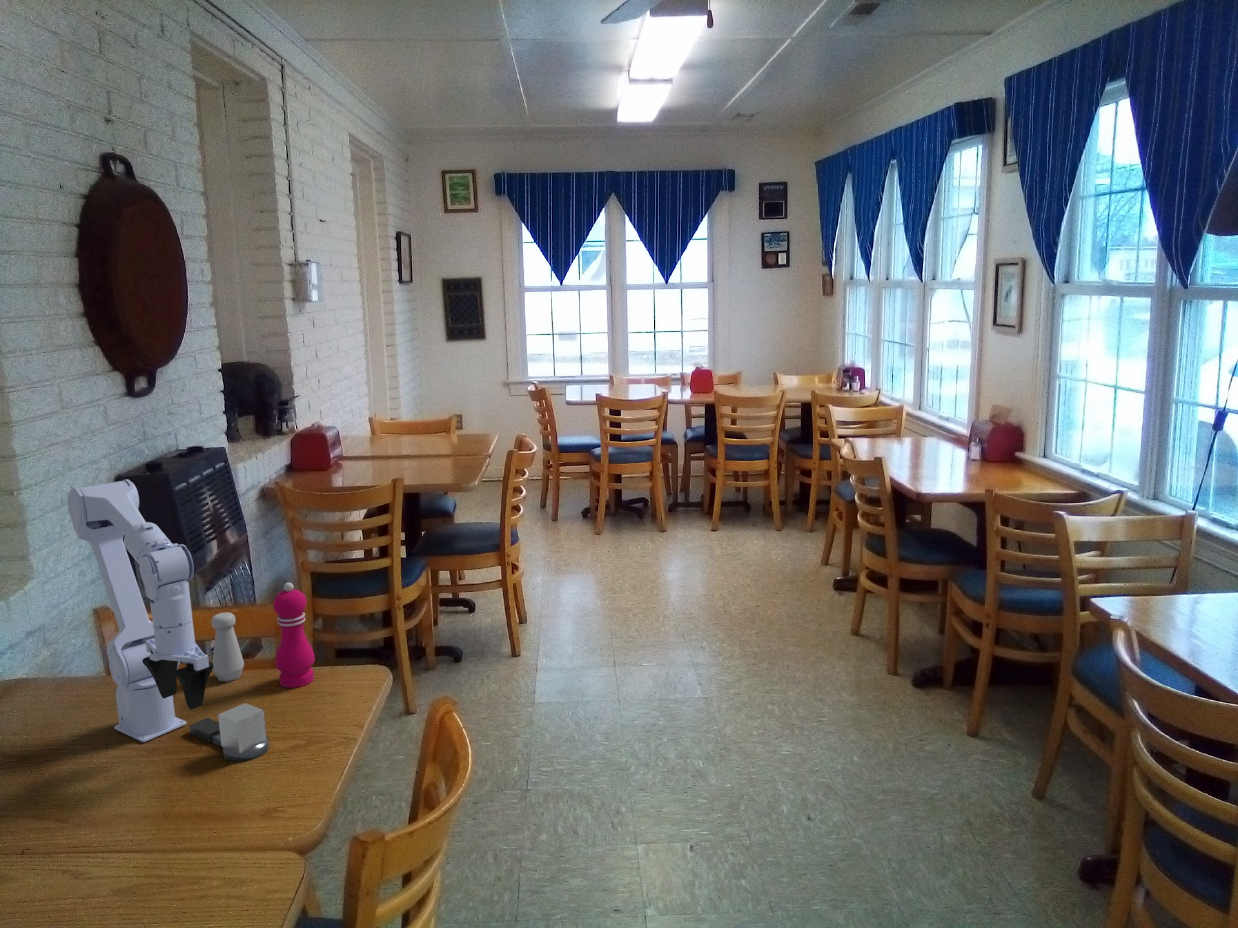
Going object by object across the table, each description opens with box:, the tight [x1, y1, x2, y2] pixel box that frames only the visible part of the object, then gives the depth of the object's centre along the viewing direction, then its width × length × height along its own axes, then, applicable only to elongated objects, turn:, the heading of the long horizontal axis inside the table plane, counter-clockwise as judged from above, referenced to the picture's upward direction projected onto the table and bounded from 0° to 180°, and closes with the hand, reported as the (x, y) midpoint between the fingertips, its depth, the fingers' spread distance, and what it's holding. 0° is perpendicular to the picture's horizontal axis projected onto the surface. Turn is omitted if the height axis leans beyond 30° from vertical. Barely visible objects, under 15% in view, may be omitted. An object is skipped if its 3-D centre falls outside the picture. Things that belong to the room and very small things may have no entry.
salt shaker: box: [211, 612, 245, 683], centre depth 181 cm, size 6×6×13 cm
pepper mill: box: [272, 582, 316, 689], centre depth 178 cm, size 7×7×20 cm
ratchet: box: [188, 717, 270, 762], centre depth 155 cm, size 17×7×4 cm, turn 56°
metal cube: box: [217, 702, 267, 754], centre depth 152 cm, size 5×5×6 cm
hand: (182, 701), depth 150 cm, fingers open, 7 cm apart
